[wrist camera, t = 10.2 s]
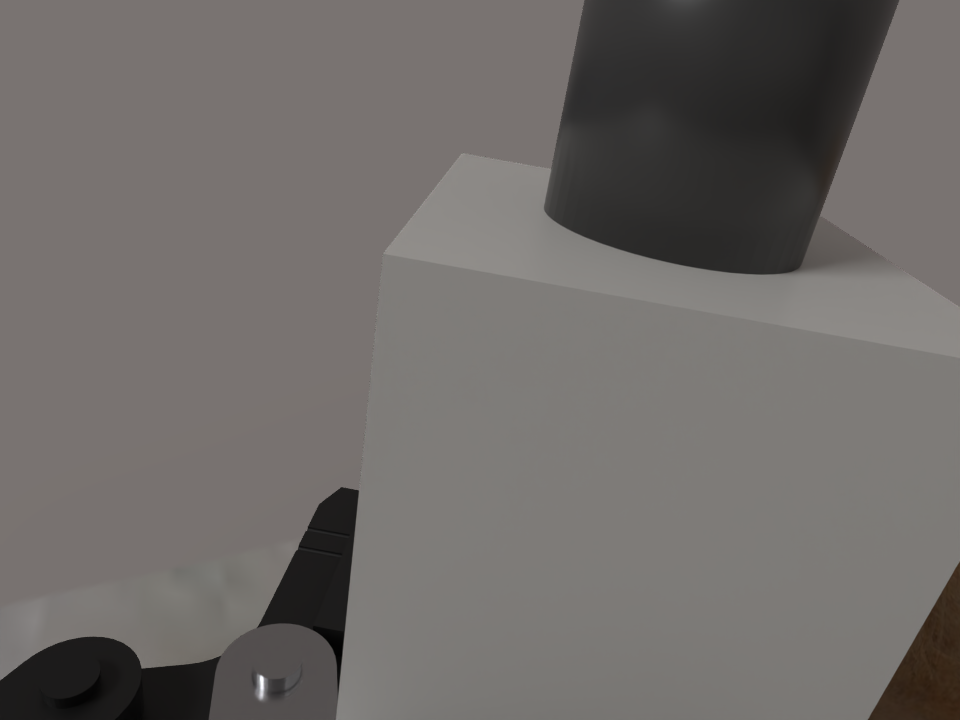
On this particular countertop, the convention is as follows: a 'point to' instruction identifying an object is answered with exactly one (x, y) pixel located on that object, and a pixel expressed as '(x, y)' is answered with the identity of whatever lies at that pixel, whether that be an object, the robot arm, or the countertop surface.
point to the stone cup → (929, 666)
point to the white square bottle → (657, 401)
